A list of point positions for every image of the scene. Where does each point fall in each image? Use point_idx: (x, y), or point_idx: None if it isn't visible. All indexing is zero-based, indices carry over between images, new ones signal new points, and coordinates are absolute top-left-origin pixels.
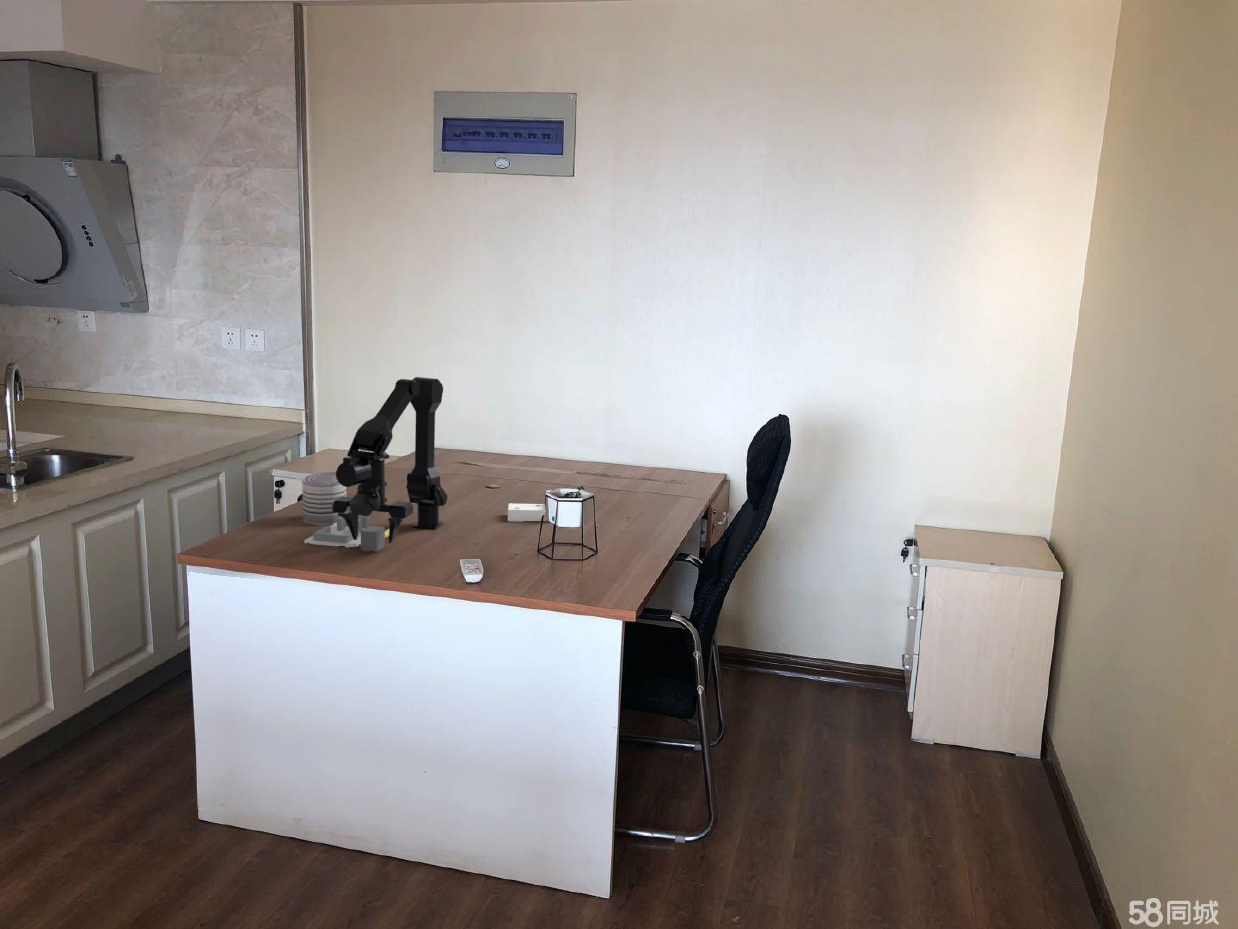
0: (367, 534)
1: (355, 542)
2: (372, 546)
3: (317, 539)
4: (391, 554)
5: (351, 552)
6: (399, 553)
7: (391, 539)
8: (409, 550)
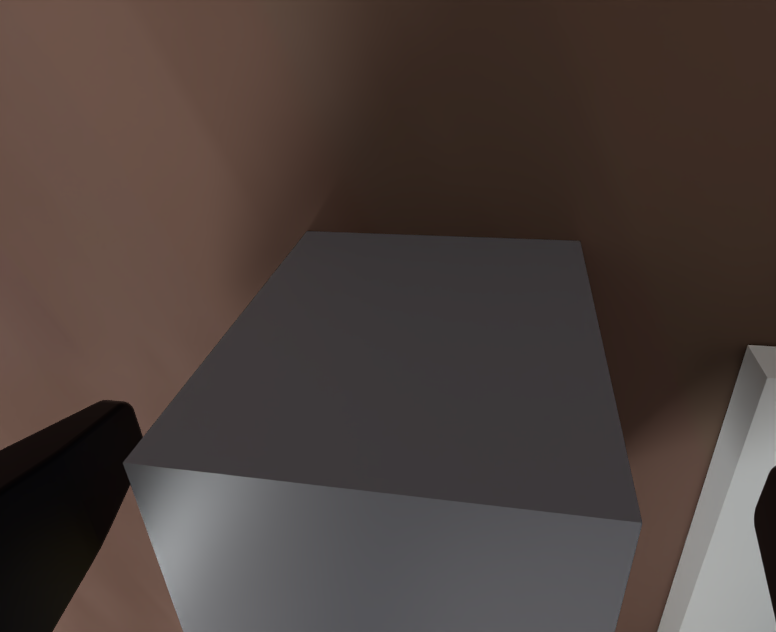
0: (411, 432)
1: None
2: (351, 276)
3: None
4: (57, 187)
5: (732, 91)
6: (8, 260)
7: (34, 434)
8: (7, 393)
